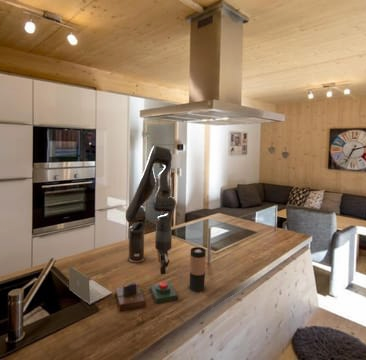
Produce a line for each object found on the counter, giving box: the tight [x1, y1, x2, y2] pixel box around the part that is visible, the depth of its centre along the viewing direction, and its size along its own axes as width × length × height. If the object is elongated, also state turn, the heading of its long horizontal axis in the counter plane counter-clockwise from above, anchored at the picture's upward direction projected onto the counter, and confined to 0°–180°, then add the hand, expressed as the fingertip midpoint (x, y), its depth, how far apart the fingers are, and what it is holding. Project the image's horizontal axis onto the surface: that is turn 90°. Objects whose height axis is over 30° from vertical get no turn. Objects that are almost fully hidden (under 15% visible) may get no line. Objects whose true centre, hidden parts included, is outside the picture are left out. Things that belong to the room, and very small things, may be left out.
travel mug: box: [189, 246, 207, 292], centre depth 140 cm, size 8×8×20 cm
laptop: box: [68, 265, 113, 305], centre depth 135 cm, size 18×12×13 cm
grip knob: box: [122, 282, 138, 297], centre depth 129 cm, size 6×2×5 cm, turn 122°
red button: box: [159, 281, 168, 289], centre depth 134 cm, size 4×4×2 cm
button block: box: [149, 282, 178, 304], centre depth 135 cm, size 12×10×4 cm
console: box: [115, 284, 146, 312], centre depth 130 cm, size 14×11×3 cm
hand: (162, 273), depth 133 cm, fingers closed
